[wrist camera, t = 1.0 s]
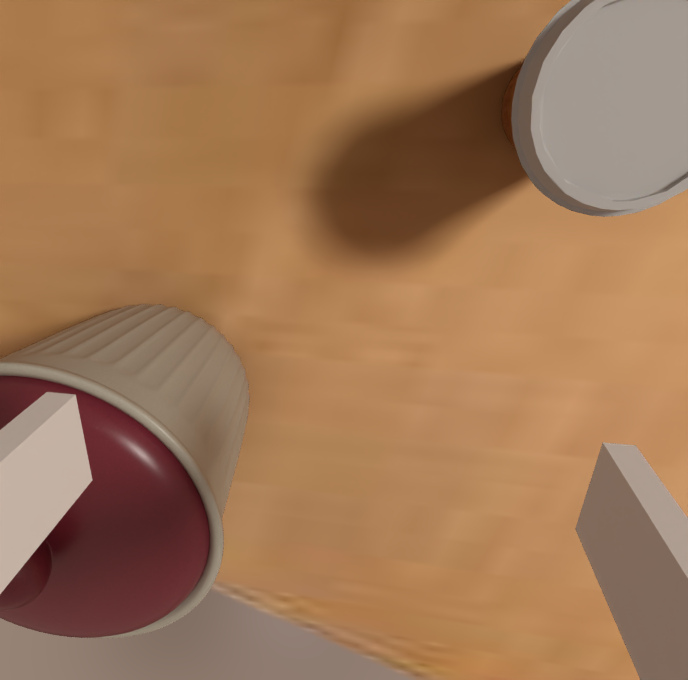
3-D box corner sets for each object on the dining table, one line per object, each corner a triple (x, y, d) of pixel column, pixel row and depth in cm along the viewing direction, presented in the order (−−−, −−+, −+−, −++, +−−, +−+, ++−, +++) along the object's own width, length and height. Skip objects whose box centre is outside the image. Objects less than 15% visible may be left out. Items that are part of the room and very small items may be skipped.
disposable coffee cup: (444, 96, 32) (472, 87, 21) (584, -25, 29) (703, -111, 18) (528, 216, 34) (593, 264, 23) (665, 116, 31) (813, 117, 20)
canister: (330, 370, 40) (273, 604, 21) (202, 498, 47) (69, 767, 27) (137, 214, 36) (-146, 326, 17) (27, 377, 43) (-268, 591, 24)
